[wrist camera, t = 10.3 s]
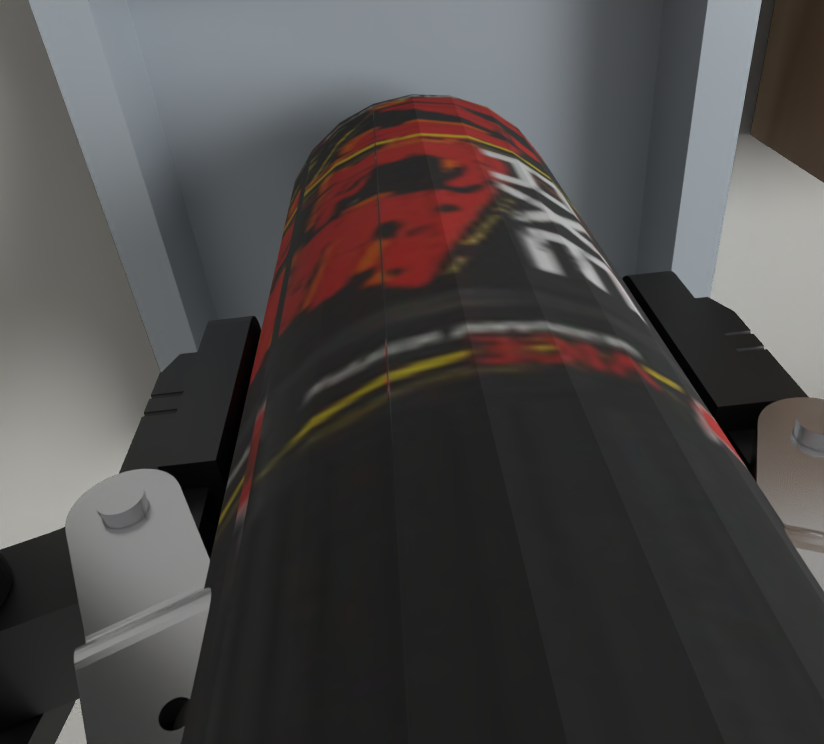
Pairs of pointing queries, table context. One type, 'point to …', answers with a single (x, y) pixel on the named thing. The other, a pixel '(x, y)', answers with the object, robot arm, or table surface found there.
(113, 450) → the table surface
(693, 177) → the tray
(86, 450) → the table surface
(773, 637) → the deodorant
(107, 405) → the table surface
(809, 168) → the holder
